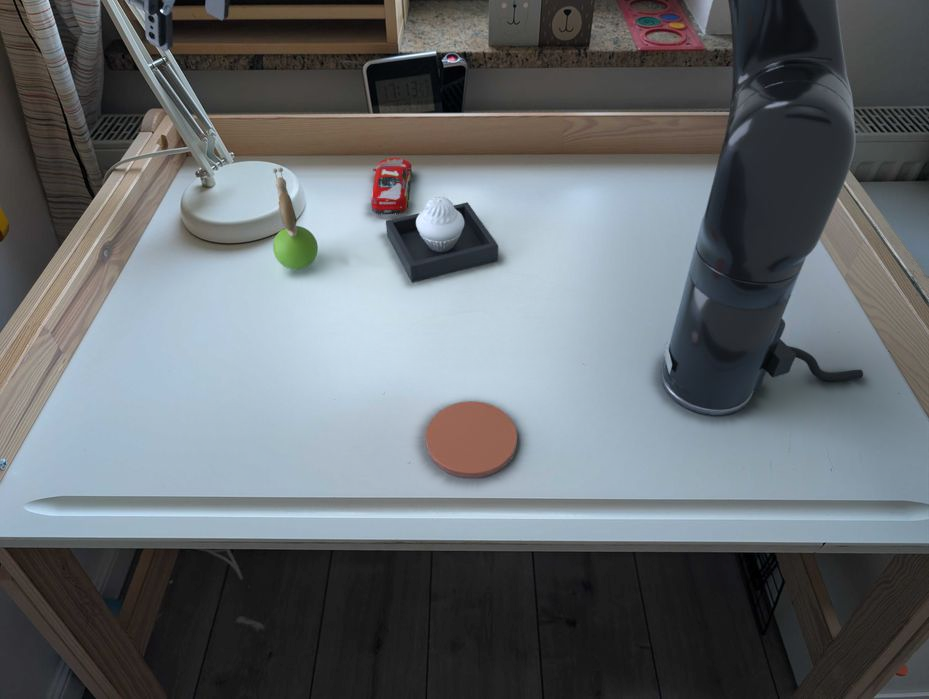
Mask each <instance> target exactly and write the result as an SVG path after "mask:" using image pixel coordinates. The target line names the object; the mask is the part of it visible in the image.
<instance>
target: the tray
mask: <svg viewBox="0 0 929 699" xmlns="http://www.w3.org/2000/svg"><path fill="white" fill-rule="evenodd" d="M453 206H454V208H455V209H456V210H457V211H459V212H460V213H461V214H462V216H463V218H464V228H463V230H462V233H461V235H460V237H459V238H458V240H457V242H456V243H455V245H454V246H453V248H452V249H451V250H449V251H446V252H435V251H433V250H431V249H430V248H429V246H428V245H427V244H426V242H425V241H424V240H423V238H422V237H421V235H420V233H419V231H418V229H417V226H416V219H417V217H418V215H419V214H420V213H421V212H418V213H414V214H410V215H409V214H408V215H405V216H399V217H396V218H392V219H387V220H385V229H386V237H387V239H388V240H389V242H390V244H391V246H392V249H393V250H394V252H395V254H396V255H397V257H398V259H399V262H400V263H401V266H402V267H403V269H404V271H405V272H406V275H407V276H408V278H409V280H410V282H411V283H417V282H420V281H424V280H428V279H432V278H436V277H439V276H444V275H448V274H452V273H455V272H459V271H464V270H468V269H472V268H476V267H479V266H480V267H481V266H483V265H488V264H492V263H497V262H498V261H499V244H498V243H497V241H496V240H495V239H494V238H493V236H492V234H491V233H490V231H489V230H488V229H487V227H486V226H485V224H484V223H483V222H482V221H481V219H480V218H479V215H477V213H476V212H475V211H474V209H473V208H472V206H471V205H470V204H469V202H462V203H458V204H453Z"/></svg>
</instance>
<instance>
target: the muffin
mask: <svg viewBox="0 0 929 699" xmlns="http://www.w3.org/2000/svg"><path fill="white" fill-rule="evenodd" d="M419 213H420V214H419V215H418V217H417V219H416V226H417V229H418V231H419V233H420V235H421V237H422V238H423V240H424V241H425V242H426V244H427V245H428V246H429V248H430V249H431V250H433V251H435V252H446V251H449V250H451V249H452V248H453V246H454V245H455V243H456V242H457V240H458V238H459V237H460V235H461V233H462V230H463V228H464V218H463V216H462V214H461V213H460V212H459V211H457V210H456V209H455V208H454V203H453V202H452V201H451V200H450V199H449V198H448V197H447V198H446V197H445V196H442V197H441V196H438V197H434V198H430V199H429V200H428V201H427V202H426V204H425V208H424V209H423V210H422V211H421V212H419Z"/></svg>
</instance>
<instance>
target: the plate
mask: <svg viewBox="0 0 929 699" xmlns="http://www.w3.org/2000/svg"><path fill="white" fill-rule="evenodd" d="M517 445H518V431H517V429H516V425H515V424H514V422H513V420H512V419H511V418H510V416H509V415H508V414H507V413H506V412H504V411H503V410H502V409H501V408H499V407H497V406H495V405H493V404H490V403H486V402H483V401H475V400H474V401H461V402H456V403H453V404H450V405H448V406H446V407H445V408H443V409H441V410H440V411H438V412H437V413H435V415H434V416H433V417H432V419H431V420H430V421H429V423H428V425H427V428H426V432H425V447H426V451H427V454H428V455H429V458H430V459H431V461H432V462H433V463H434V464H435V465H436V466H437V467H438V468H440V469H441V470H442V471H444V472H445V473H447V474H449V475H453V476H456V477H460V478H466V479H467V478H469V479H476V478H484V477H487V476H490V475H493V474H495V473H497V472H498V471H500V470H502V469H503V468H505V467H506V466H507V465H508V464H509V463H510V461H511V460H512V459H513V457H514V455H515V454H516V450H517Z"/></svg>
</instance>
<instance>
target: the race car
mask: <svg viewBox="0 0 929 699" xmlns="http://www.w3.org/2000/svg"><path fill="white" fill-rule="evenodd" d="M372 171H373V172H374V179H373V186H372V190H371V195H370V203H371V211H372V213H373V214H375V215H378V216H381V215H400V214H404V213H406V212H407V210H408V209H409V202H410V194H411V184H412V178H413V177H412V175H413V174H412V173H413V171H412V163H411V162H410V161H408V160H406V159H404V158H399V157H389V158H386V159H383V160H381V161H379V162H378V163H376V166H375V168H372Z"/></svg>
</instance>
